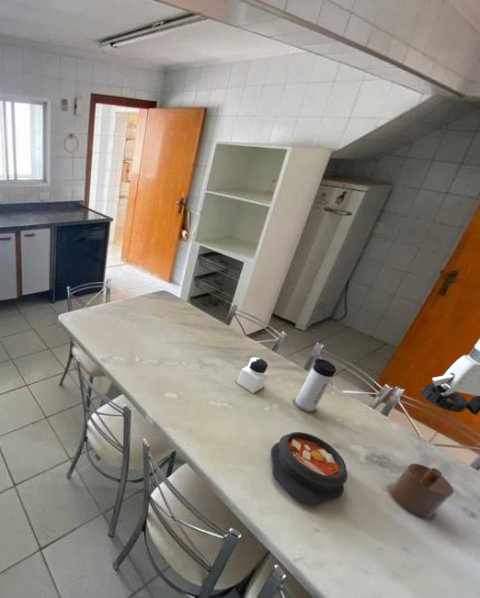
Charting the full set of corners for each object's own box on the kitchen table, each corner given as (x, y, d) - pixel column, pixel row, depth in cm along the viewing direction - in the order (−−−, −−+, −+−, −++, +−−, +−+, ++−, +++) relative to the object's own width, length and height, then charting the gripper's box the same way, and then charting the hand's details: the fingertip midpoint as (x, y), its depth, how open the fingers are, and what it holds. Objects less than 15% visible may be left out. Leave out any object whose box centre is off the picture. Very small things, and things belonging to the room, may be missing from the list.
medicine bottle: (263, 387, 129) (273, 363, 124) (253, 394, 125) (263, 369, 120) (246, 376, 134) (255, 353, 129) (236, 382, 130) (245, 358, 125)
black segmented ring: (450, 394, 102) (454, 388, 101) (472, 415, 94) (477, 409, 93) (414, 387, 104) (418, 381, 103) (433, 407, 96) (437, 401, 95)
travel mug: (294, 397, 126) (315, 355, 116) (314, 405, 122) (337, 362, 113) (292, 406, 121) (314, 363, 112) (313, 415, 118) (337, 372, 109)
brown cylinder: (418, 491, 94) (445, 462, 88) (439, 522, 86) (469, 492, 80) (383, 482, 96) (407, 452, 90) (400, 511, 88) (427, 481, 82)
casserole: (328, 527, 83) (343, 508, 79) (254, 474, 95) (264, 455, 91) (350, 469, 99) (363, 451, 95) (284, 430, 111) (293, 412, 107)
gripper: (519, 357, 89) (479, 405, 97) (441, 344, 92) (409, 391, 100) (545, 374, 82) (500, 424, 90) (461, 359, 86) (425, 409, 94)
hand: (453, 407), depth 95 cm, fingers closed on black segmented ring, 7 cm apart
